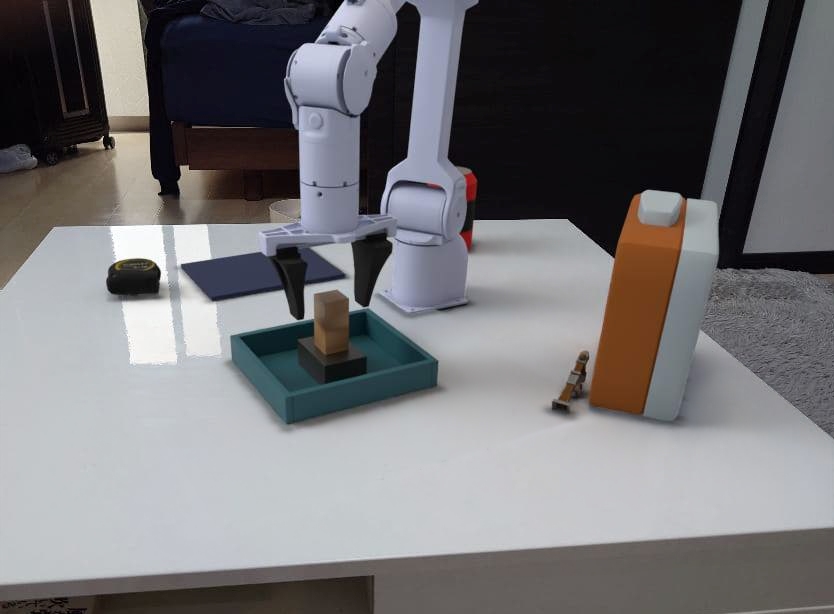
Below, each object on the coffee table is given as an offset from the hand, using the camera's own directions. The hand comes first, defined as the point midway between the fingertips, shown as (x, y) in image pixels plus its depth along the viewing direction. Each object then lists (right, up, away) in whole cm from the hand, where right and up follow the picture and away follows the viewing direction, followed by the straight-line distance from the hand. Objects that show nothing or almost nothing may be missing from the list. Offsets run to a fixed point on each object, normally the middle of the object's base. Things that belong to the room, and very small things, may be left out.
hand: (330, 310), depth 82 cm
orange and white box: (+34, -7, +4) cm, 35 cm away
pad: (-11, +9, +31) cm, 34 cm away
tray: (0, -7, +4) cm, 8 cm away
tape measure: (-27, +5, +24) cm, 36 cm away
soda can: (+17, +15, +42) cm, 48 cm away
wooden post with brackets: (+25, -10, 0) cm, 27 cm away
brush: (0, -6, +4) cm, 7 cm away
